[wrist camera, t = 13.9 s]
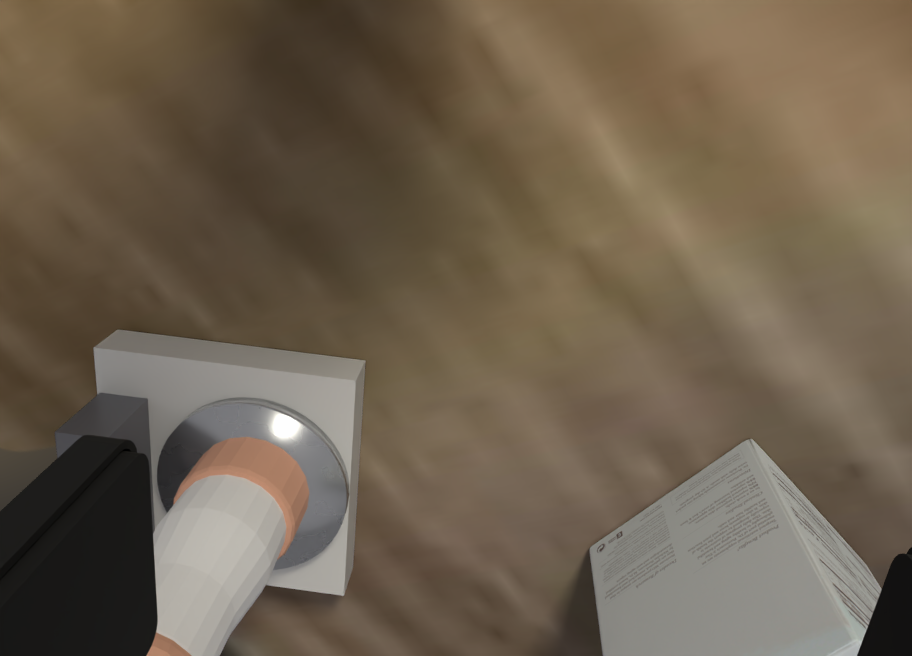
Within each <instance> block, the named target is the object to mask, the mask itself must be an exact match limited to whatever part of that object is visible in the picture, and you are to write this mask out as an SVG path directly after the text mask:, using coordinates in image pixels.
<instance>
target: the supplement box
mask: <svg viewBox="0 0 912 656" xmlns="http://www.w3.org/2000/svg"><path fill="white" fill-rule="evenodd" d="M590 560H591V567H592V575H593V583H594V591H595V599H596V607H597V614H598V622H599V629H600V637H601V645H602V653H603V656H857V654H858V652H859V649H860V646H861V644H862V641H863V638H864V636H865V633H866V630H867V628H868V625H869V622H870V620H871V617H872V614H873V611H874V609H875V606H876V603H877V601H878V598H879V595H880V593H881V590H882V589H881V588H880V586H879V584H878V583H877V581H876V580H875V578H874V576H873V575H872V573H871V572H870V570H869V569H868V567H867V565H866V564H865V563H864V562H863V560H862V559H861V558H860V557H859V556H858V555H857V554H856V553H855V551H854V550H853V549H852V548H851V547H850V546H849V545H848V544H847V543H846V541H845V540H844V539H843V538H842V537H841V536H840V535H839V534H838V533H837V531H836V530H835V529H834V528H833V527H832V526H831V525H830V524H829V522H828V521H827V520H826V519H825V518H824V517H823V516H822V515H821V514H820V513H819V511H818V510H817V509H816V508H815V507H814V506H813V505H812V504H811V503H810V501H809V500H808V499H807V498H806V497H805V496H804V495H803V494H802V493H801V492H800V490H799V489H798V488H797V487H796V486H795V485H794V484H793V483H792V482H791V481H790V479H789V478H788V477H787V476H786V475H785V474H784V473H783V472H782V471H781V470H780V468H779V467H778V466H777V465H776V464H775V463H774V462H773V461H772V460H771V459H770V457H769V456H768V455H767V454H766V453H765V452H764V451H763V450H762V449H761V448H760V447H759V446H758V445H757V444H756V443H755V442H754V440H753V439H748V440H746V441H744V442H742V443H741V444H739V445H738V446H736V447H735V448H733V449H732V450H730V451H729V452H728V453H726V454H725V455H723V456H722V457H720V458H719V459H717V460H716V461H715V462H713V463H712V464H710V465H709V466H707V467H706V468H704V469H703V470H702V471H700V472H699V473H697V474H696V475H694V476H693V477H691V478H690V479H688V480H687V481H685V482H684V483H683V484H681V485H680V486H678V487H677V488H676V489H674V490H673V491H671V492H670V493H668V494H666V495H665V496H664V497H662V498H661V499H659V500H658V501H656V502H655V503H654V504H652V505H651V506H649V507H648V508H646V509H645V510H643V511H642V512H640V513H639V514H638V515H636V516H635V517H633V518H632V519H630V520H629V521H627V522H626V523H624V524H623V525H622V526H620V527H619V528H617V529H616V530H614V531H613V532H611V533H610V534H609V535H607V536H606V537H604V538H603V539H601V540H600V541H598V542H597V543H596V544H594V545H593V546H591V547H590Z"/></svg>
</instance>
